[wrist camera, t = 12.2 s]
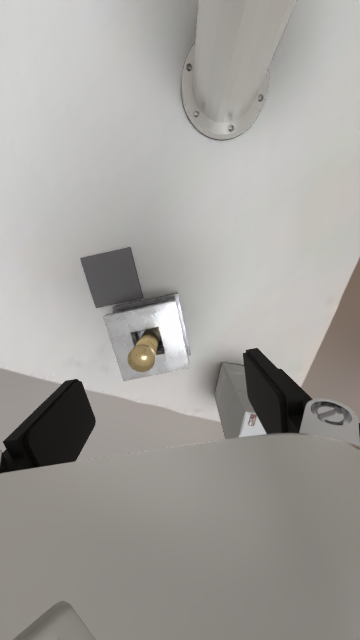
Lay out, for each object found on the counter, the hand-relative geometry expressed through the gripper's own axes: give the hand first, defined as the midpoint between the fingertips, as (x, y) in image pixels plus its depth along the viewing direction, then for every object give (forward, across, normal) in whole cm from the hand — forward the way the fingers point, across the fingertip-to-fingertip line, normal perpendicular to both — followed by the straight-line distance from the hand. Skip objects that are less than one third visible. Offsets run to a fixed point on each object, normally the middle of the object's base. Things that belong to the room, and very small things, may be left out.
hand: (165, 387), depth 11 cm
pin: (+24, +5, +4) cm, 25 cm away
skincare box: (+25, -8, +18) cm, 32 cm away
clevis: (+25, +5, +4) cm, 26 cm away
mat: (+26, +10, -7) cm, 28 cm away
